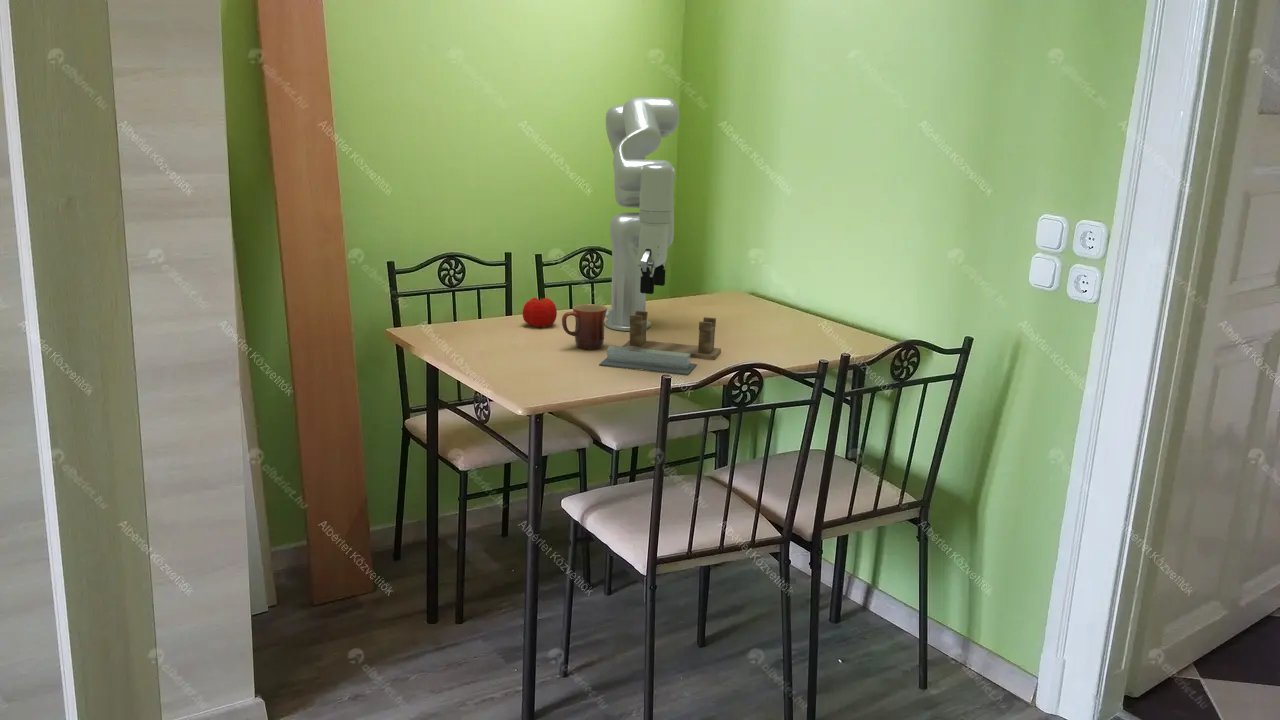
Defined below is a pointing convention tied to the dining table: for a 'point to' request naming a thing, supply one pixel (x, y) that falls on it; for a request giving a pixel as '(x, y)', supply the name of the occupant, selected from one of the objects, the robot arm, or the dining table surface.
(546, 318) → the tomato
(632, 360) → the rail
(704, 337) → the rack
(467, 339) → the dining table surface
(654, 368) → the mat
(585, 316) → the mug
